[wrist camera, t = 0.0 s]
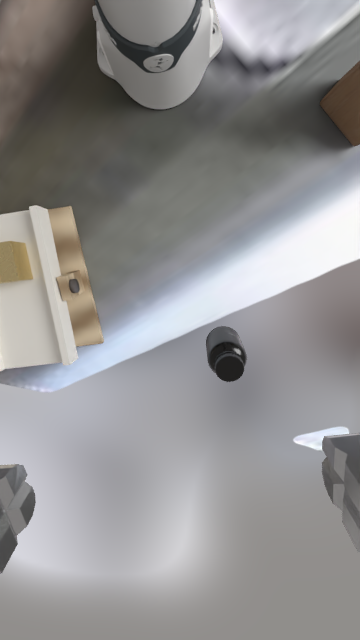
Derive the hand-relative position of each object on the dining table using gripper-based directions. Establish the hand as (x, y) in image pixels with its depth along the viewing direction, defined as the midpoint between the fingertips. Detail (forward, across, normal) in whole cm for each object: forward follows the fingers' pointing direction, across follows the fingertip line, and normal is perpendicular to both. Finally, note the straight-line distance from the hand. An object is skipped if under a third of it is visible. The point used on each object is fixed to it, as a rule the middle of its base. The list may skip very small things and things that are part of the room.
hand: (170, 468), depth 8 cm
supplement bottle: (+48, -5, +17) cm, 51 cm away
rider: (+42, +29, -4) cm, 51 cm away
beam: (+42, +29, +1) cm, 51 cm away
